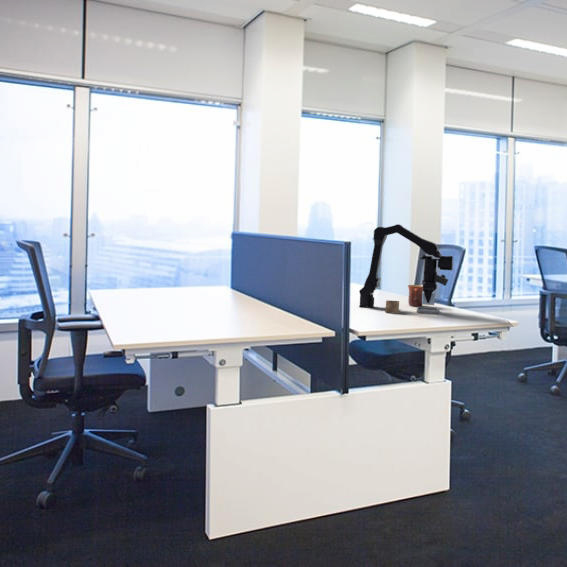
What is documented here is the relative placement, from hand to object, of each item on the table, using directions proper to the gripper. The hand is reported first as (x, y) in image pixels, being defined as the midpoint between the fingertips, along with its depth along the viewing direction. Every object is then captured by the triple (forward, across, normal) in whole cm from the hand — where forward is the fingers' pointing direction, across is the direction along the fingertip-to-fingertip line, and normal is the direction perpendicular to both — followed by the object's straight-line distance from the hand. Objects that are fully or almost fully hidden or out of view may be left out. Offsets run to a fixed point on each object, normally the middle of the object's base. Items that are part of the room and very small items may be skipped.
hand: (428, 301), depth 282 cm
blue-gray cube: (+1, 0, 0) cm, 1 cm away
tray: (+5, 0, 0) cm, 5 cm away
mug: (+5, +16, +5) cm, 18 cm away
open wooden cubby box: (+5, -8, +16) cm, 19 cm away
